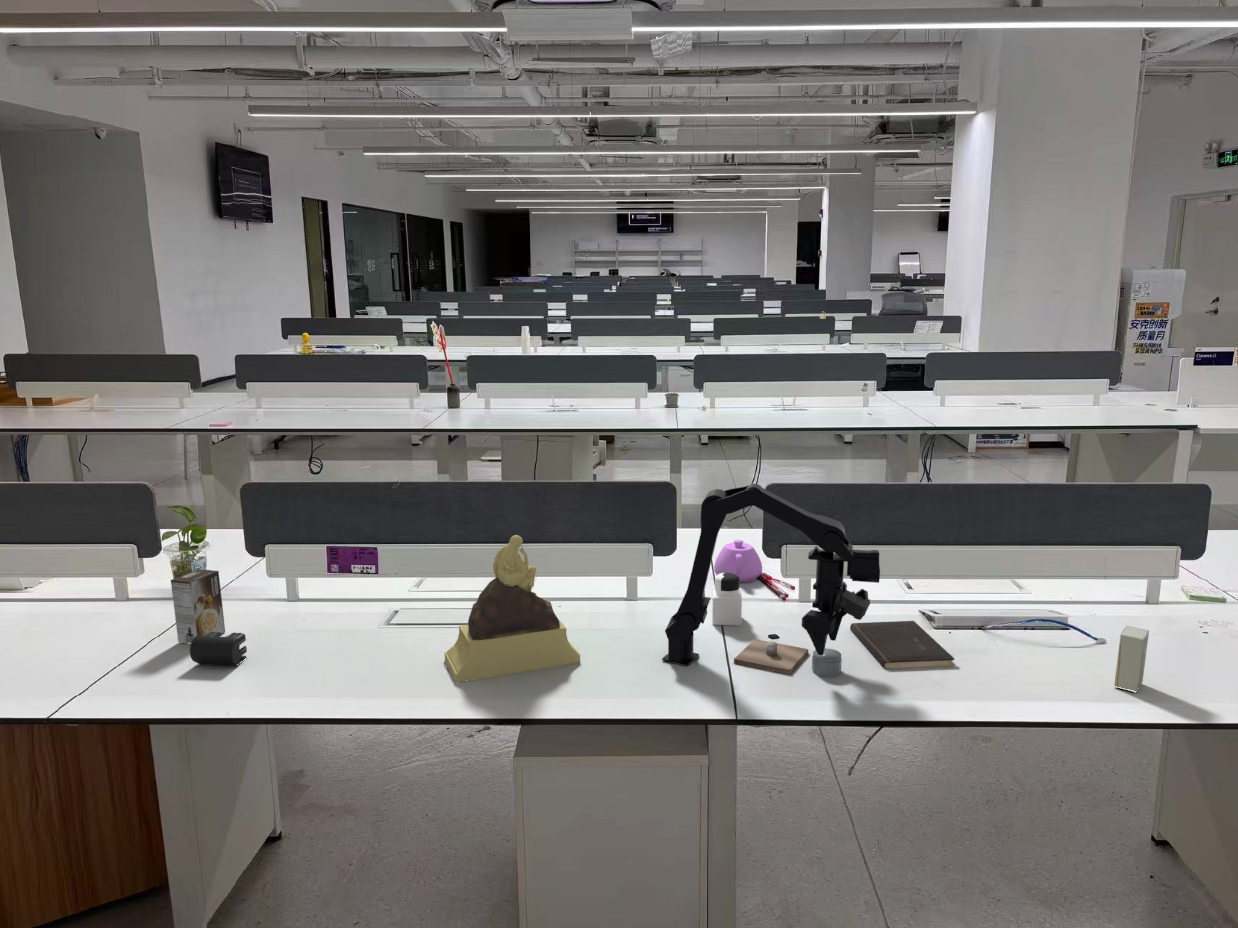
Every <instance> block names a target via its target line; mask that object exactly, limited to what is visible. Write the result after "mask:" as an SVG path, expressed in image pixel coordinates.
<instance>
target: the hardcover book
mask: <svg viewBox="0 0 1238 928" xmlns="http://www.w3.org/2000/svg"><path fill="white" fill-rule="evenodd" d="M849 630H850V631H851V633H852V634H853V635H854V636H855V637H856V639H858V641H859V642H860V643H861V645H863V647H864V648H865V649H866V650H867V651H868V652H869V654H870V655H871V656H872V657H873V658H874V659H875V661H876V662H877V663H878V664H879V665H880V666H881V667H882V668H883V670H885V669H897V668H898V669H901V668H919V667H921V668H922V667H923V668H925V667H927V668H929V667H947V666H952V665H953V661H955V658H954V656H952V655H951V654H950V653H949V652H948V651H947V650H946V649H944V647H942V645H940V643H938V642H937V641H936V640H935V639H934V638H933V637H932V636H931V635H930V634H929V633H927V632H926V630H925V629H924V628H922V627H921V626H920V625H919V624H918V623H917V622H916V621H914V620H901V621H899V620H898V621H897V620H896V621H895V620H894V621H873V622H853V623H850V627H849Z"/></svg>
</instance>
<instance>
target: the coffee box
mask: <svg viewBox="0 0 1238 928" xmlns="http://www.w3.org/2000/svg"><path fill="white" fill-rule="evenodd" d="M170 585H171V586H170V587H171V594H172V600H173V609H174V618H175V619H174V620H175V626H176V634H177V642H182V643H190V644H191V643H192V641H193V639H194V638H195V637H196V636H204V635H206V634H207V633H209V632H221V635H223V634H225V633H226V627H225V625H226V624H225V618H224V617H225V616H224V609H223V599H222V591H221V582H220V571H219V570H211V569H202V568H201V569H200V568H199V569H196V570H193V571H189V572H188V573H185V574H183V575H181V576H178V577H175V578H173V579H170ZM224 632H225V633H224ZM222 633H223V634H222ZM182 643H181V644H182Z"/></svg>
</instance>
